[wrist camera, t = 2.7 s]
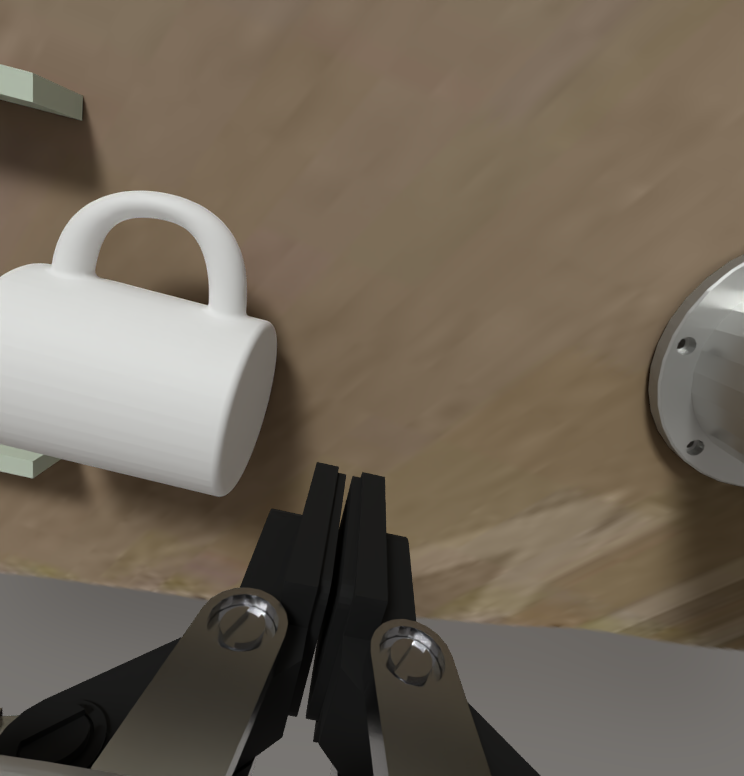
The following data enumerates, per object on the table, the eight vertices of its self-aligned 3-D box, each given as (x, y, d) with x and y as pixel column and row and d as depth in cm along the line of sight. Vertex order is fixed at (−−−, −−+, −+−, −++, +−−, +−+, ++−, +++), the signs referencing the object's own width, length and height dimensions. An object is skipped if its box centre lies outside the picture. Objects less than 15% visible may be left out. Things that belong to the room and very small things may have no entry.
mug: (260, 447, 26) (206, 537, 18) (82, 403, 25) (-50, 476, 17) (304, 227, 22) (259, 223, 14) (95, 170, 21) (-67, 134, 14)
